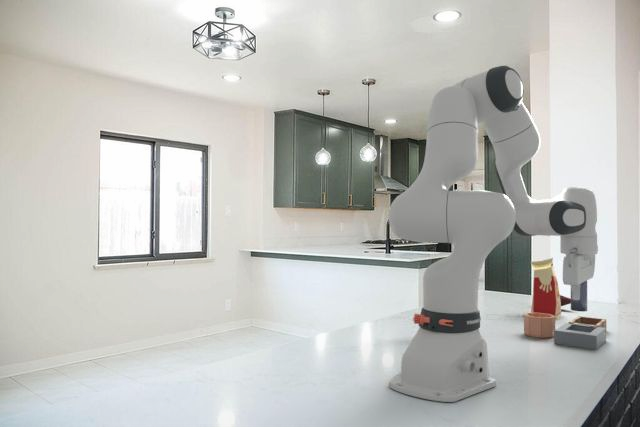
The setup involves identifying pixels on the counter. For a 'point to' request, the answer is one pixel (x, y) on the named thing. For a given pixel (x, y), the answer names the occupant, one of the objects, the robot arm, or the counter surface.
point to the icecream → (565, 300)
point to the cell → (582, 303)
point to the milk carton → (545, 289)
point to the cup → (539, 325)
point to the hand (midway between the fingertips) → (578, 298)
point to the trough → (589, 321)
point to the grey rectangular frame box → (580, 335)
